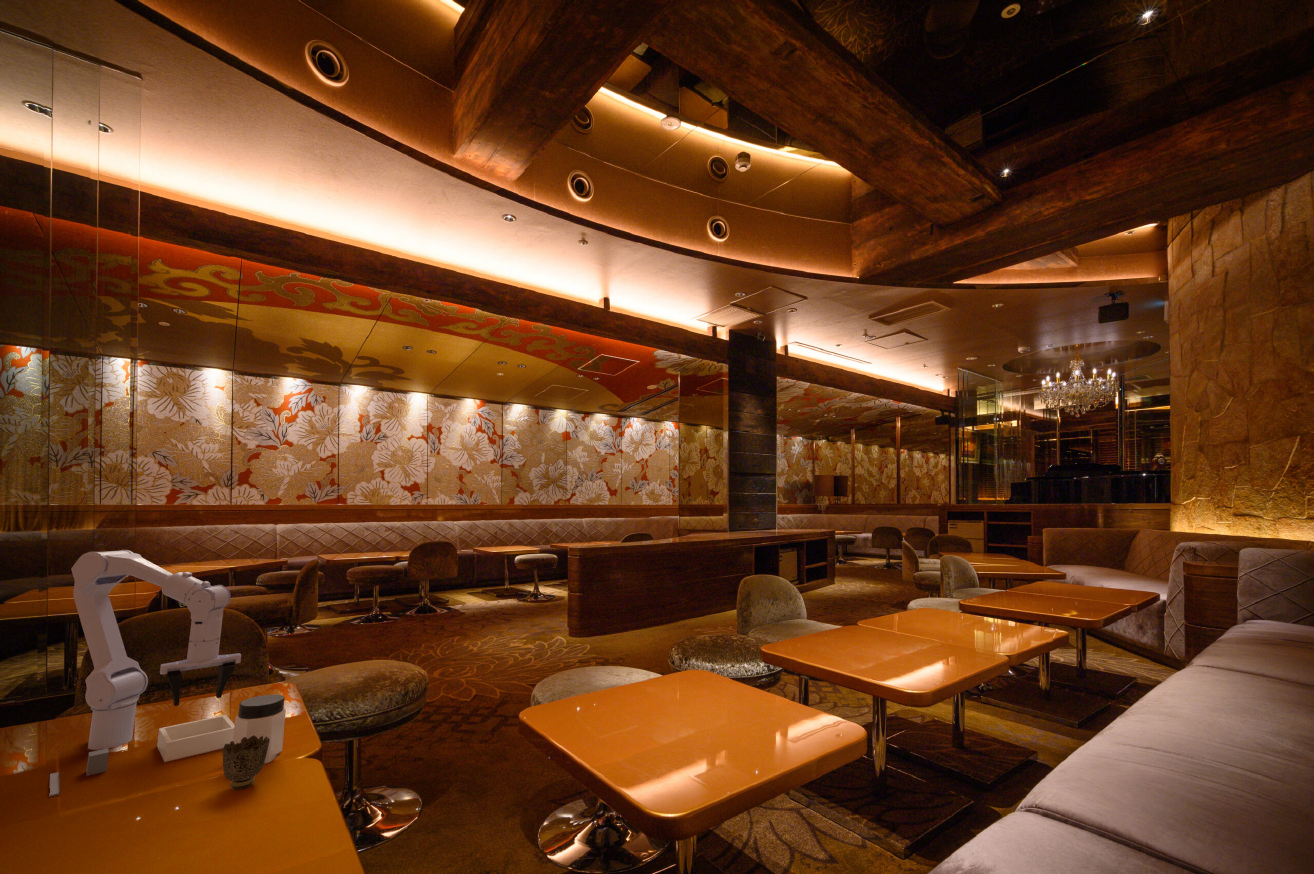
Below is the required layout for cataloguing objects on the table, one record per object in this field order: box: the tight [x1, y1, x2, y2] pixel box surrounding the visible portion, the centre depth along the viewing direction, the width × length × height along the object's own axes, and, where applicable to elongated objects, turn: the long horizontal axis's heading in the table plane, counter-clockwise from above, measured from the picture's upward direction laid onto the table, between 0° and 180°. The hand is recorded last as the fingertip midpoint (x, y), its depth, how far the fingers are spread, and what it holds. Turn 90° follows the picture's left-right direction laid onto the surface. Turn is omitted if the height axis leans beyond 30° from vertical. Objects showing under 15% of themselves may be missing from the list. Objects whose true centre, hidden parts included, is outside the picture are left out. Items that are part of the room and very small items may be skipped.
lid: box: [48, 748, 110, 798], centre depth 112 cm, size 13×13×5 cm
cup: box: [221, 736, 270, 791], centre depth 108 cm, size 8×7×8 cm
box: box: [156, 714, 235, 763], centre depth 125 cm, size 12×12×4 cm
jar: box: [233, 694, 287, 765], centre depth 121 cm, size 9×8×12 cm
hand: (197, 700), depth 129 cm, fingers open, 7 cm apart
